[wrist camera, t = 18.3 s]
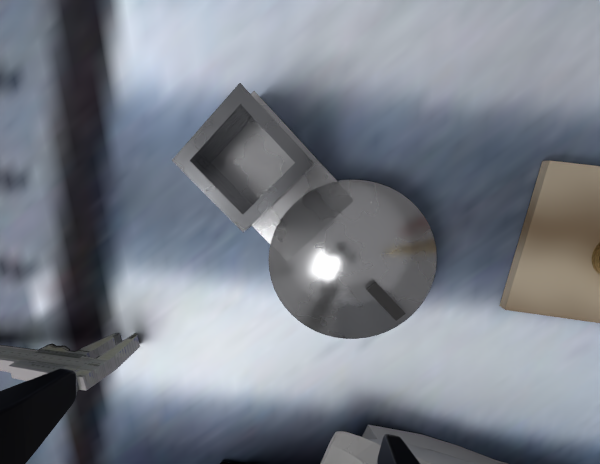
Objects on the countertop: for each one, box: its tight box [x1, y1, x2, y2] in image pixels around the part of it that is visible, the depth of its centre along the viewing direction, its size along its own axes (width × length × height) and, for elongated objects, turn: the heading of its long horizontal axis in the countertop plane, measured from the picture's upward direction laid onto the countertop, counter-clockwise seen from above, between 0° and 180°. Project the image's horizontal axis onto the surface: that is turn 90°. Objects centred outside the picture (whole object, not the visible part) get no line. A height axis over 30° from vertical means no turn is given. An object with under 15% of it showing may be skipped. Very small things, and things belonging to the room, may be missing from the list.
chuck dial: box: [172, 83, 437, 339], centre depth 17 cm, size 18×11×4 cm, turn 44°
